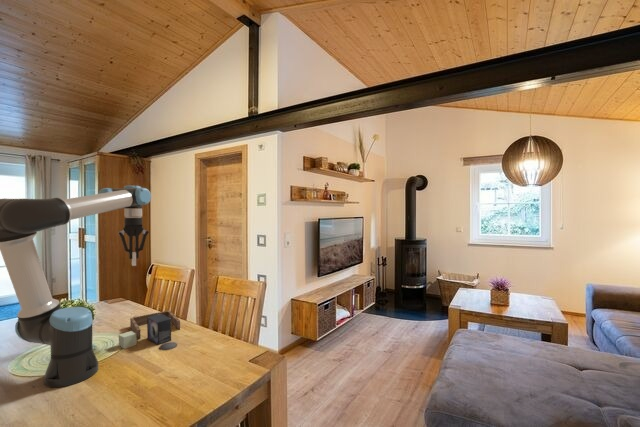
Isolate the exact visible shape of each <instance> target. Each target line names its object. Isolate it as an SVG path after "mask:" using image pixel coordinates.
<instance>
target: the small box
mask: <svg viewBox="0 0 640 427" xmlns="http://www.w3.org/2000/svg"><path fill="white" fill-rule="evenodd" d="M146 325H147V326H146V327H147V328H146V330H147V331H146V332H147V334H146V336H147V338H146V339H147V340H148V341H150V342H151V343H154V344H155V345H157V346H161V345H162V344H165V343H169V342H171V341H172V324H171V318H169V317H167V316H165V315H162V314H157V315H153V316H150V317H147V324H146Z"/></svg>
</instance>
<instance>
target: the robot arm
mask: <svg viewBox="0 0 640 427" xmlns="http://www.w3.org/2000/svg"><path fill="white" fill-rule="evenodd" d="M151 193H152V192H150V190H149V189H148V188H146V187H142V186H141V185H124V186H123V188H115V187H114V188H112V187H103V188H101V189H100V190H99V191H98V193H95V194H91V195H83V196H78V197H72V198H71V197H70V198H64V199H63V198H62V197H61V198H60V197H53V198H51V197H50V198H0V254H1V256H2V259H3V262H4V265H5V267H6V271H7V273H8V275H9V279H10V281H11V285H12V286H13V287H12V288H13V290H14V292H15V295H16V298H17V301H18V303H19V306H20V310H19V311H18V312H17V314H16V315H17V321H16V322H15V327H14V329H15V330H14V331H15V334H16V335H17V337H18V338H20V339H21V340H23V341H25V342H28V343H32V344H33V343H34V344H40V345H45V346H46V345H47V346H50V359H49V362H48V365H47V367H46V370H45V373H44V377H43V384H44V386H46V387H47V388H60V387H68V386H72V385H75V384H77V383H80V382H82V381H85V380H87V379H89V378H91V377H92V376H94V375H96V374H97V373H98V370H99V361H98V359H97V356H96V354H95V352H94V349H93V322H94V320H93V313H92V311H91V310H90V309H89V308H87V307H83V306H75V307H74V306H70V307H64V308H62V306H61V303H60V301H59V299H55V298H53V296H52V293H51V290H50V288H49V287H50V286H49V284H48V282H47V278H46V276H45V272H44V269H43V265H42V263H41V259H40V256H39V253H38V251H37V247H36V244H35V242H34V238H35V236H36V235H37V234H38V232H41V231H42V232H43V231H45V230H48V229H52V228H56V227H60V226H64V225H67V224H68V223H69V222H70V221H72V220H76V219H81V218H85V217H89V216H93V215H94V216H95V215H98V214H103V213H107V212H112V211H115V210H119V209H124V211H123V212H124V217H125V218H124V219H123V220H124V223H123V225H124V227H123V229H122V230H121V231H118V233H117V234H118V235H119V238H120V240H121V243H122V245H123V249H124V251H125V252H127V253H128V258H129V260H131V266H132V267H137V259H139V253H140V251H143V250H144V247H145V243H146V238H147V236H148V234H149V233H150V232H149V231H148V230H145V228H144V227H143V205H144V206H145V205H148V204H150V202H151V200H152V194H151ZM141 234H142V237H141V241H140V245H139V238H140V237H139V236H140V235H141ZM125 235H127V236H128V245H127V242H126V238H125ZM133 237H134V238H133ZM133 239H134V242H133ZM133 243H134V251H133Z"/></svg>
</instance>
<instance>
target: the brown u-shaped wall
mask: <svg viewBox="0 0 640 427" xmlns="http://www.w3.org/2000/svg"><path fill="white" fill-rule="evenodd" d="M157 314H162V315H165V316H167V317H169V318H171V326H173V327H174V328H175V329H176V330H177V331H179V330H181V320H180V319H179V318H178V317H177V316H176V315H175V314H174V313H173V312H172V310H170V309H169V310H165V311H164V310H163V311H160V312H154V313H149V314H148V313H147V314H144V315H140V316H139V315H138V316H133V317H130V318H129V320H130V322H129V326H130V329H131V331H132V332H134V333H136V341H138V340H141V328H140V326H144V325H147V317H150V316H153V315H157Z"/></svg>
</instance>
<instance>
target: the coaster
mask: <svg viewBox="0 0 640 427" xmlns="http://www.w3.org/2000/svg"><path fill="white" fill-rule="evenodd" d="M177 346H178V342H176V341H175V342H174V341H172V342H171V341H169V342H166V343H163V344H160V345H159V350H160V351H161V350H162V351H169V350H172V349H175V348H177Z"/></svg>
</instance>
